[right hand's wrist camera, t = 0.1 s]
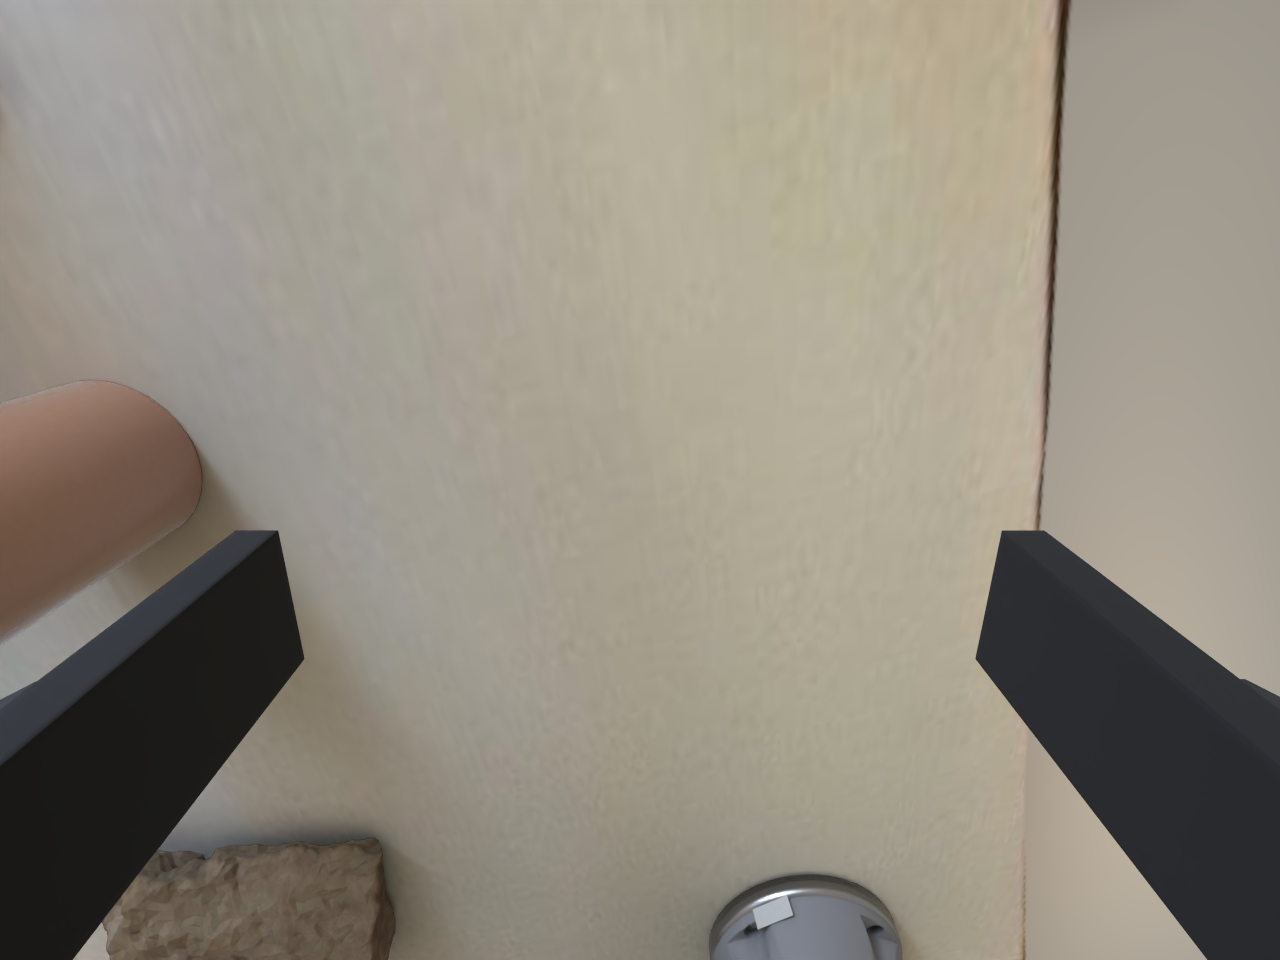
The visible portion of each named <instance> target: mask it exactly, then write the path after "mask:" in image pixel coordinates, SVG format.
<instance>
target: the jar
mask: <svg viewBox="0 0 1280 960" xmlns="http://www.w3.org/2000/svg"><path fill="white" fill-rule="evenodd" d="M201 487H202V472H201V467H200V462H199V459H198V456H197V452H196V450H195V448H194V446H193V444H192V442H191V440H190V438H189V437H188V435H187V433H186V432H185V430H184V429H183V428H182V427H181V425H180V424H179V423H178V422H177V420H176V419H175V418H174V417H173V416H172V415H171V414H170V413H169V412H168V411H166V410H165V409H164V408H163V407H162V406H161V405H159V404H158V403H156V402H155V401H153V400H152V399H151V398H149V397H147V396H145V395H144V394H142V393H140V392H138V391H136V390H133V389H131V388H129V387H126V386H123V385H119V384H116V383H111V382H106V381H96V380H86V381H77V382H72V383H68V384H64V385H61V386H57V387H54V388H50V389H47V390H43V391H40V392H36V393H33V394H29V395H26V396H22V397H19V398H15V399H12V400H8V401H5V402H1V403H0V646H1V645H3V644H4V643H6V642H7V641H9V640H10V639H12V638H13V637H15V636H16V635H18V634H19V633H21V632H22V631H24V630H25V629H27V628H28V627H30V626H31V625H33V624H34V623H36V622H37V621H39V620H40V619H42V618H43V617H45V616H46V615H48V614H49V613H51V612H52V611H54V610H55V609H57V608H58V607H60V606H61V605H63V604H64V603H66V602H67V601H69V600H70V599H72V598H73V597H75V596H76V595H78V594H79V593H81V592H82V591H84V590H85V589H87V588H88V587H90V586H91V585H93V584H94V583H96V582H97V581H99V580H100V579H102V578H103V577H105V576H106V575H108V574H109V573H111V572H112V571H114V570H115V569H117V568H119V567H120V566H122V565H123V564H125V563H126V562H128V561H129V560H131V559H132V558H134V557H135V556H137V555H138V554H140V553H141V552H143V551H144V550H146V549H147V548H149V547H150V546H152V545H153V544H155V543H156V542H158V541H159V540H161V539H162V538H164V537H165V536H167V535H168V534H170V533H171V532H173V531H174V530H176V529H177V528H178V527H180V526H181V525H183V524H184V523H185V522H186V521H187V520H188V519H189V517H190V516H191V515H192V513H193V512H194V510H195V508H196V506H197V504H198V501H199V498H200V494H201Z"/></svg>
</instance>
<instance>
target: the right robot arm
mask: <svg viewBox="0 0 1280 960" xmlns="http://www.w3.org/2000/svg"><path fill="white" fill-rule="evenodd" d="M303 660H304V654H303V649H302V645H301V640H300V635H299V630H298V625H297V620H296V615H295V611H294V606H293V601H292V596H291V591H290V586H289V582H288V577H287V572H286V567H285V562H284V557H283V552H282V548H281V543H280V538H279V533H278V531H235V532H233V533H232V534H231V535H229V536H228V537H227V538H225V539H224V540H223V541H221V542H220V543H219V544H218V545H216V546H215V547H214V548H212V549H211V550H210V551H208V552H207V553H206V554H204V555H203V556H202V557H200V558H199V559H198V560H196V561H195V562H194V563H192V564H191V565H190V566H189V567H187V568H186V569H185V570H183V571H182V572H181V573H179V574H178V575H177V576H175V577H174V578H173V579H171V580H170V581H169V582H167V583H166V584H165V585H164V586H162V587H161V588H160V589H158V590H157V591H156V592H154V593H153V594H152V595H150V596H149V597H148V598H146V599H145V600H144V601H142V602H141V603H140V604H139V605H137V606H136V607H135V608H133V609H132V610H131V611H129V612H128V613H127V614H125V615H124V616H123V617H121V618H120V619H119V620H117V621H116V622H115V623H113V624H112V625H111V626H110V627H108V628H107V629H106V630H104V631H103V632H102V633H100V634H99V635H98V636H96V637H95V638H94V639H92V640H91V641H90V642H88V643H87V644H86V645H85V646H83V647H82V648H81V649H79V650H78V651H77V652H75V653H74V654H73V655H71V656H70V657H69V658H67V659H66V660H65V661H63V662H62V663H61V664H60V665H58V666H57V667H56V668H54V669H53V670H52V671H50V672H49V673H48V674H46V675H45V676H44V677H42V678H41V679H40V680H38V681H37V682H34V683H32V684H30V685H28V686H26V687H25V688H23V689H21V690H19V691H17V692H15V693H13V694H11V695H9V696H7V697H5V698H3V699H1V700H0V960H73V958H74V957H75V956H76V955H77V953H78V952H79V951H80V949H81V948H82V947H83V945H84V944H85V943H86V942H87V940H88V939H89V938H90V936H91V935H92V934H93V933H94V931H95V930H96V929H97V927H98V926H99V925H100V923H101V922H102V921H103V920H104V918H105V917H106V916H107V914H108V913H109V912H110V910H111V909H112V908H113V907H114V905H115V904H116V903H117V901H118V900H119V899H120V897H121V896H122V895H123V894H124V892H125V891H126V890H127V888H128V887H129V886H130V885H131V883H132V882H133V881H134V879H135V878H136V877H137V875H138V874H139V873H140V872H141V870H142V869H143V868H144V866H145V865H146V864H147V862H148V861H149V860H150V859H151V857H152V856H153V855H154V853H155V852H156V851H157V849H158V848H159V847H160V846H161V844H162V843H163V842H164V840H165V839H166V838H167V837H168V835H169V834H170V833H171V831H172V830H173V829H174V827H175V826H176V825H177V824H178V822H179V821H180V820H181V818H182V817H183V816H184V814H185V813H186V812H187V811H188V809H189V808H190V807H191V805H192V804H193V803H194V801H195V800H196V799H197V798H198V796H199V795H200V794H201V792H202V791H203V790H204V789H205V787H206V786H207V785H208V783H209V782H210V781H211V779H212V778H213V777H214V776H215V774H216V773H217V772H218V770H219V769H220V768H221V766H222V765H223V764H224V763H225V761H226V760H227V759H228V757H229V756H230V755H231V754H232V752H233V751H234V750H235V748H236V747H237V746H238V744H239V743H240V742H241V741H242V739H243V738H244V737H245V735H246V734H247V733H248V731H249V730H250V729H251V728H252V726H253V725H254V724H255V722H256V721H257V720H258V718H259V717H260V716H261V715H262V713H263V712H264V711H265V709H266V708H267V707H268V706H269V704H270V703H271V702H272V700H273V699H274V698H275V696H276V695H277V694H278V693H279V691H280V690H281V689H282V687H283V686H284V685H285V683H286V682H287V681H288V680H289V678H290V677H291V676H292V674H293V673H294V672H295V670H296V669H297V668H298V667H299V665H300V664H301V663H302V661H303ZM976 660H977V661H978V663H979V664H980V665H981V667H982V668H983V669H984V670H985V672H986V673H987V674H988V676H989V677H990V678H991V680H992V681H993V682H994V683H995V685H996V686H997V687H998V689H999V690H1000V691H1001V693H1002V694H1003V695H1004V696H1005V698H1006V699H1007V700H1008V702H1009V703H1010V704H1011V706H1012V707H1013V708H1014V709H1015V711H1016V712H1017V713H1018V715H1019V716H1020V717H1021V718H1022V720H1023V721H1024V722H1025V724H1026V725H1027V726H1028V728H1029V729H1030V730H1031V731H1032V733H1033V734H1034V735H1035V737H1036V738H1037V739H1038V741H1039V742H1040V743H1041V744H1042V746H1043V747H1044V748H1045V750H1046V751H1047V752H1048V753H1049V755H1050V756H1051V757H1052V759H1053V760H1054V761H1055V762H1056V764H1057V765H1058V766H1059V768H1060V769H1061V770H1062V772H1063V773H1064V774H1065V776H1066V777H1067V778H1068V779H1069V781H1070V782H1071V783H1072V785H1073V786H1074V787H1075V789H1076V790H1077V791H1078V792H1079V794H1080V795H1081V796H1082V798H1083V799H1084V800H1085V801H1086V803H1087V804H1088V805H1089V807H1090V808H1091V809H1092V811H1093V812H1094V813H1095V814H1096V816H1097V817H1098V818H1099V820H1100V821H1101V822H1102V824H1103V825H1104V826H1105V827H1106V829H1107V830H1108V831H1109V833H1110V834H1111V835H1112V836H1113V838H1114V839H1115V840H1116V842H1117V843H1118V844H1119V846H1120V847H1121V848H1122V849H1123V851H1124V852H1125V853H1126V855H1127V856H1128V857H1129V859H1130V860H1131V861H1132V862H1133V864H1134V865H1135V866H1136V868H1137V869H1138V870H1139V872H1140V873H1141V874H1142V875H1143V877H1144V878H1145V879H1146V881H1147V882H1148V883H1149V884H1150V886H1151V887H1152V888H1153V890H1154V891H1155V892H1156V894H1157V895H1158V896H1159V897H1160V899H1161V900H1162V901H1163V903H1164V904H1165V905H1166V906H1167V908H1168V909H1169V910H1170V912H1171V913H1172V914H1173V916H1174V917H1175V918H1176V920H1177V921H1178V922H1179V923H1180V925H1181V926H1182V927H1183V929H1184V930H1185V931H1186V932H1187V934H1188V935H1189V936H1190V938H1191V939H1192V940H1193V942H1194V943H1195V944H1196V945H1197V947H1198V948H1199V949H1200V951H1201V952H1202V953H1203V955H1204V956H1205V957H1206V958H1207V960H1280V697H1279V696H1277V695H1275V694H1273V693H1271V692H1269V691H1267V690H1265V689H1263V688H1261V687H1259V686H1257V685H1255V684H1253V683H1252V682H1250V681H1248V680H1246V679H1239V678H1238V677H1236V676H1235V675H1234V674H1232V673H1231V672H1230V671H1228V670H1227V669H1226V668H1224V667H1223V666H1222V665H1220V664H1219V663H1218V662H1217V661H1215V660H1214V659H1213V658H1211V657H1210V656H1209V655H1207V654H1206V653H1205V652H1203V651H1202V650H1201V649H1199V648H1198V647H1197V646H1195V645H1194V644H1193V643H1191V642H1190V641H1189V640H1188V639H1186V638H1185V637H1184V636H1182V635H1181V634H1180V633H1178V632H1177V631H1176V630H1174V629H1173V628H1172V627H1170V626H1169V625H1168V624H1167V623H1165V622H1164V621H1163V620H1161V619H1160V618H1159V617H1157V616H1156V615H1155V614H1153V613H1152V612H1151V611H1149V610H1148V609H1147V608H1145V607H1144V606H1143V605H1141V604H1140V603H1139V602H1137V601H1136V600H1135V599H1134V598H1132V597H1131V596H1130V595H1128V594H1127V593H1126V592H1124V591H1123V590H1122V589H1120V588H1119V587H1118V586H1116V585H1115V584H1114V583H1113V582H1111V581H1110V580H1109V579H1107V578H1106V577H1105V576H1103V575H1102V574H1101V573H1099V572H1098V571H1097V570H1095V569H1094V568H1093V567H1091V566H1090V565H1089V564H1088V563H1086V562H1085V561H1084V560H1082V559H1081V558H1080V557H1078V556H1077V555H1076V554H1074V553H1073V552H1072V551H1070V550H1069V549H1068V548H1066V547H1065V546H1064V545H1062V544H1061V543H1060V542H1059V541H1057V540H1056V539H1055V538H1053V537H1052V536H1051V535H1049V534H1048V533H1047V532H1045V531H1002V533H1001V538H1000V543H999V548H998V552H997V557H996V562H995V567H994V572H993V577H992V582H991V586H990V591H989V596H988V601H987V606H986V611H985V615H984V620H983V625H982V630H981V635H980V640H979V645H978V649H977V654H976ZM709 951H710V960H902V947H901V942H900V939H899V936H898V934H897V931H896V928H895V925H894V923H893V920H892V917H891V915H890V913H889V911H888V909H887V908H886V906H885V905H884V904H883V903H882V902H881V900H880V899H879V898H877V897H876V896H875V895H874V894H873V893H871V892H870V891H869V890H867V889H865V888H863V887H862V886H860V885H857V884H855V883H853V882H850V881H847V880H844V879H840V878H836V877H831V876H823V875H796V876H788V877H783V878H778V879H774V880H771V881H768V882H765V883H762V884H760V885H757V886H755V887H753V888H751V889H749V890H747V891H745V892H744V893H742V894H741V895H739V896H738V897H736V898H735V899H734V900H733V901H731V902H730V903H729V904H728V905H727V906H726V907H725V908H724V909H723V910H722V912H721V913H720V914H719V916H718V917H717V919H716V921H715V923H714V925H713V927H712V930H711V934H710V939H709Z"/></svg>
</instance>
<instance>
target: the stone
mask: <svg viewBox="0 0 1280 960" xmlns="http://www.w3.org/2000/svg"><path fill="white" fill-rule="evenodd" d="M382 857H383V855H382V848H381V846H380V845H379V841H378V840H376V839H375V838H370V839H364V840H350V841H348V842H347V843H340V844H334V845H329V846H324V847H323V846H319V845H312V844H310V843H308V842H294V843H291V844H287V843H284V844H282V845H280V846H263V845H259V844H256V845H252V846H237V845H230V846H227V847H225V848H218V849H216V850H215V852H214V854H213V855H212V857H211V858H210V859H209V860H205V858H204V856H203V854H198V853H194V852H191V851H179V852H177V853H172V852H164V851H159V852H155V853H154V855H153V856H152V857H151V859H150V860H149V861H148V862H147V864H146V865H145V866H144V868H143V869H142V870H141V872H140V873H139V874H138V875H137V877H136V878H135V879H134V881H133V882H132V883H131V885H130V886H129V887H128V888H127V890H126V891H125V892H124V894H123V895H122V896H121V897H120V899H119V900H118V901H117V903H116V904H115V905H114V907H113V908H112V909H111V910H110V912H109V913H108V914H107V916H106V917H105V918H104V920H103V921H102V923H103V925H104V929H105V930H106V931H107V935H108V939H107V945H106V951H107V952H108V954H109V956H110V960H388V956H389V951H390V947H391V943H392V939H393V936H394V933H395V919H394V912H393V911H392V906H391V904H390V902H389V901H388V899H387V897H386V895H385V880H384V870H383V864H382V862H381V859H382Z"/></svg>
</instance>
